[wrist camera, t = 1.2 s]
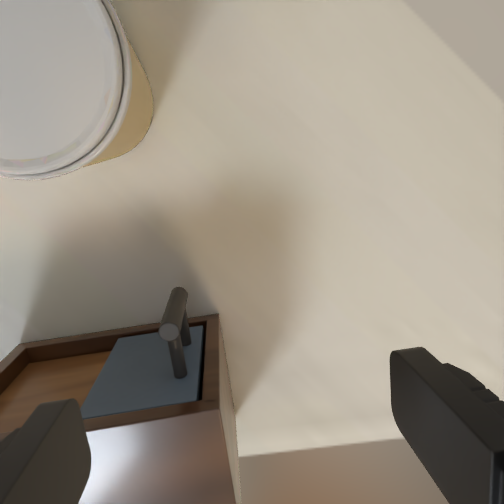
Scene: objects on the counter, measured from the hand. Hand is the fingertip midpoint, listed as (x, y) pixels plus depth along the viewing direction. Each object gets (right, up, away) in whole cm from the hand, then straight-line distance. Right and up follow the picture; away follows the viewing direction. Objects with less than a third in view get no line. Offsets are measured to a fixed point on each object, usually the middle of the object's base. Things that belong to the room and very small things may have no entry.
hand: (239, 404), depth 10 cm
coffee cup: (-10, +14, +17) cm, 24 cm away
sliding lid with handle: (-7, -1, +19) cm, 21 cm away
